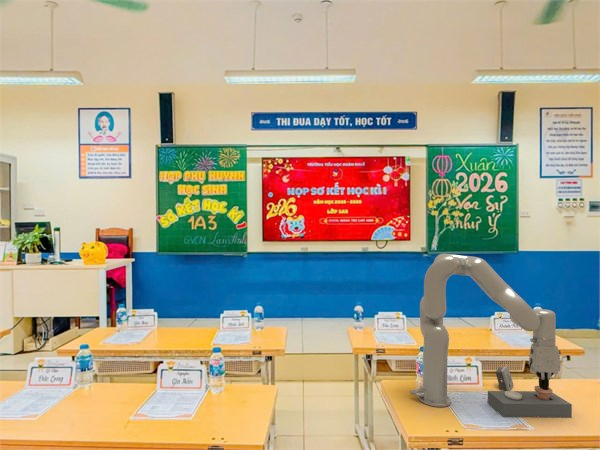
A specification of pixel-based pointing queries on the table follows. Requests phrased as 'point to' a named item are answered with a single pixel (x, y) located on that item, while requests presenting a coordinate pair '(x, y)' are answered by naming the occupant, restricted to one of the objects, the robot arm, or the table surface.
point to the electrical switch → (504, 378)
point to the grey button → (513, 395)
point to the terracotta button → (543, 393)
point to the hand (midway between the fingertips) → (543, 388)
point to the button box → (530, 405)
